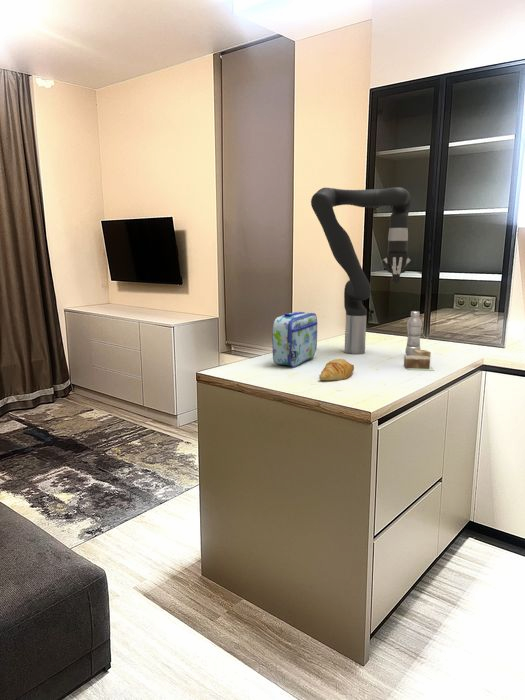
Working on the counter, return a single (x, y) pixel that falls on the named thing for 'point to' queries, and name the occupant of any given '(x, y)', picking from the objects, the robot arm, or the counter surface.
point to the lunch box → (294, 338)
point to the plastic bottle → (413, 333)
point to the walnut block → (416, 362)
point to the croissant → (336, 370)
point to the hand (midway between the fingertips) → (395, 283)
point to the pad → (422, 369)
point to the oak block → (422, 353)
